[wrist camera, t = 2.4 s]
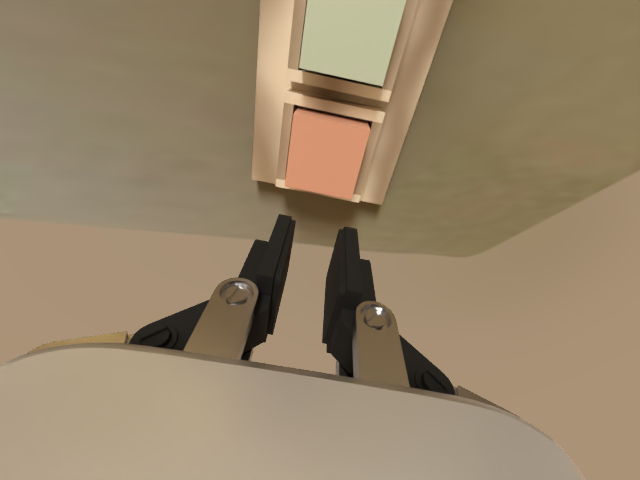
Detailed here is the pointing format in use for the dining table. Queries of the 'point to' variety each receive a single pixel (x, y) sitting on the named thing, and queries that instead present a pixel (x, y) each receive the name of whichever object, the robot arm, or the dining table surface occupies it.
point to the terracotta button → (325, 152)
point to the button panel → (340, 92)
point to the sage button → (350, 37)
